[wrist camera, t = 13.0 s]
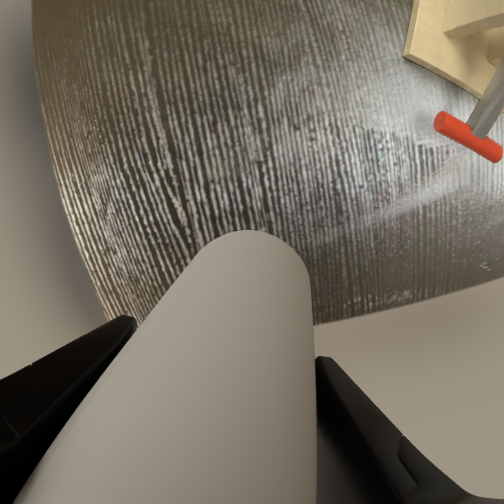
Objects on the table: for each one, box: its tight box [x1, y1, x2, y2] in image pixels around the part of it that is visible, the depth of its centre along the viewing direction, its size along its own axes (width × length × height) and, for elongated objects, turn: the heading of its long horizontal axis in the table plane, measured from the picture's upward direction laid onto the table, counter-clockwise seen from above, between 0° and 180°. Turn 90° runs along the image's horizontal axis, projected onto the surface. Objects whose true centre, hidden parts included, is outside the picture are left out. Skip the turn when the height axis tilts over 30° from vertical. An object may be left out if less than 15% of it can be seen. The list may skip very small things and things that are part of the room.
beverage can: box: [13, 230, 317, 504], centre depth 7 cm, size 5×5×12 cm
